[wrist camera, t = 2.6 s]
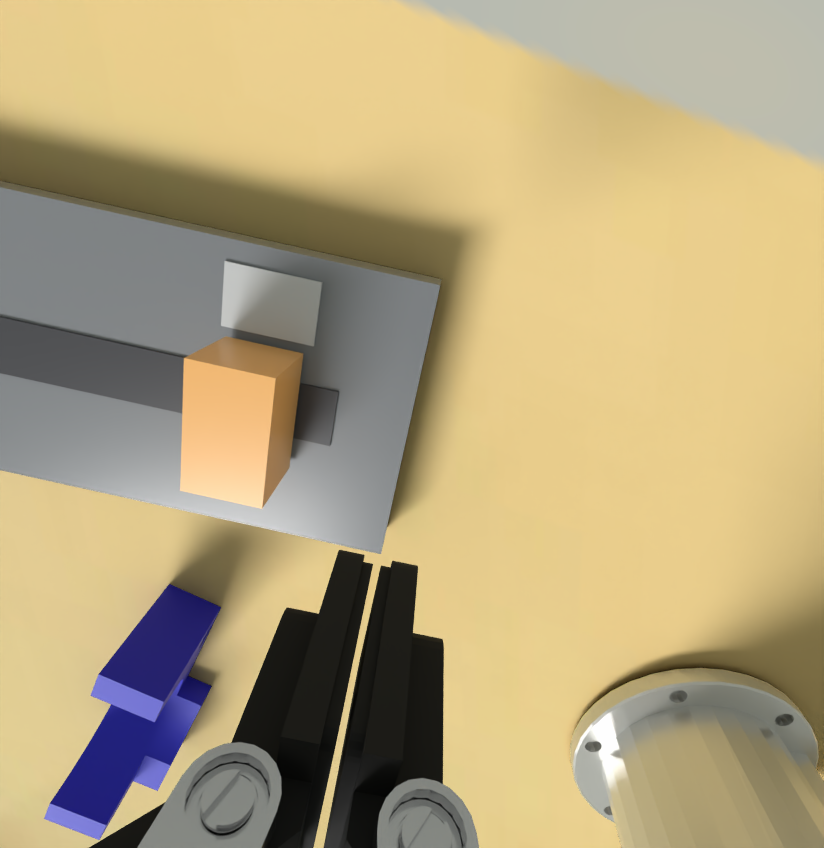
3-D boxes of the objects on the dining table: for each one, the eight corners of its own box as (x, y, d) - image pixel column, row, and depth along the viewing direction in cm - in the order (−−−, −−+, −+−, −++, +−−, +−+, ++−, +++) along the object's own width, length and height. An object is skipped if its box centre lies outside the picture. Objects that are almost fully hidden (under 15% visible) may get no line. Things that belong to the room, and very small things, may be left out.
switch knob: (303, 353, 19) (275, 378, 16) (289, 467, 21) (262, 508, 18) (225, 336, 19) (184, 358, 16) (218, 452, 21) (180, 490, 18)
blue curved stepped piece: (183, 741, 32) (126, 850, 27) (116, 713, 32) (44, 818, 26) (247, 615, 28) (196, 715, 22) (171, 581, 27) (98, 674, 22)
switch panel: (441, 279, 20) (440, 285, 18) (386, 528, 24) (380, 555, 23) (-206, 134, 20) (-278, 126, 18) (-139, 412, 24) (-189, 429, 22)
